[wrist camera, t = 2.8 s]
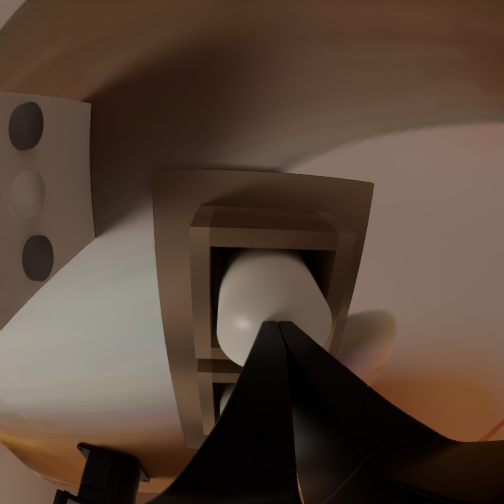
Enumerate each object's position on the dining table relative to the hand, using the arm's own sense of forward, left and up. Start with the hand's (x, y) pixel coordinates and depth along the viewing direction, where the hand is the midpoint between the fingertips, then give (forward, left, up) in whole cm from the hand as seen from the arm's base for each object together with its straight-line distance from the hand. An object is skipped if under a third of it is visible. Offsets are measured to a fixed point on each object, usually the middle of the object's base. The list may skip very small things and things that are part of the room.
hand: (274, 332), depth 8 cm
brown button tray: (-6, 0, -5) cm, 8 cm away
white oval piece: (0, 0, -4) cm, 4 cm away
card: (+4, +8, -5) cm, 10 cm away
